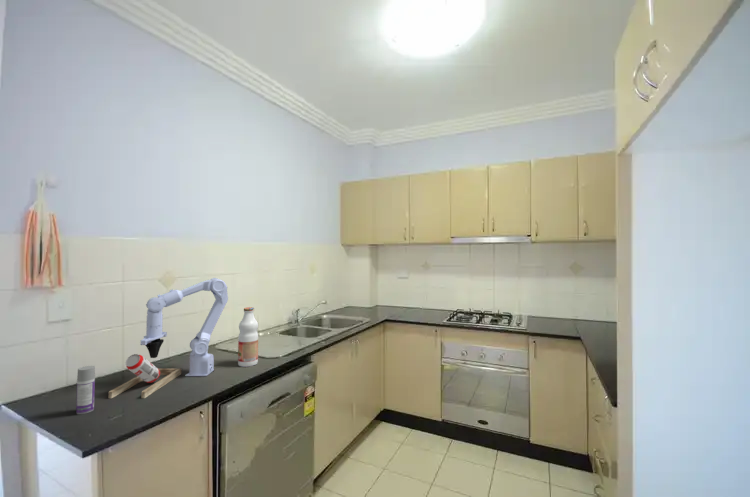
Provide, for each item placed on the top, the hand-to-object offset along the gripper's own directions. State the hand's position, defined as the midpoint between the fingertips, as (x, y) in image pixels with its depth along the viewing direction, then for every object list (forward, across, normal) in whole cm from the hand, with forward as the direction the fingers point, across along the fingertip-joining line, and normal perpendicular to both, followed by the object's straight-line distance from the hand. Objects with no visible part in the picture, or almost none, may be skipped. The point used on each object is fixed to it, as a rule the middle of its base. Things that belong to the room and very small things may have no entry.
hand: (153, 357), depth 141 cm
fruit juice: (+11, -23, +32) cm, 41 cm away
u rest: (+10, +4, 0) cm, 11 cm away
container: (+11, +26, -7) cm, 29 cm away
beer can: (+8, 0, 0) cm, 8 cm away
